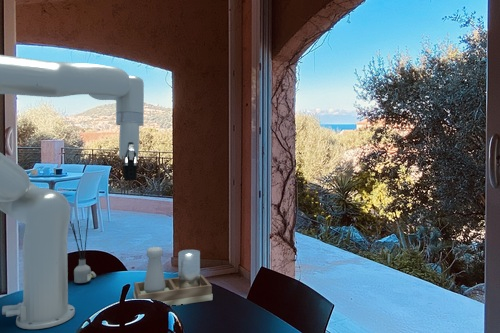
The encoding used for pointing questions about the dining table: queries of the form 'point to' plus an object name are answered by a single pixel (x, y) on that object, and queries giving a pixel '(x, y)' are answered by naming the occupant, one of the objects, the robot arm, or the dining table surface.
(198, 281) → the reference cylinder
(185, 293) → the divided tray
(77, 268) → the reed diffuser
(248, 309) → the dining table surface
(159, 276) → the salt shaker
